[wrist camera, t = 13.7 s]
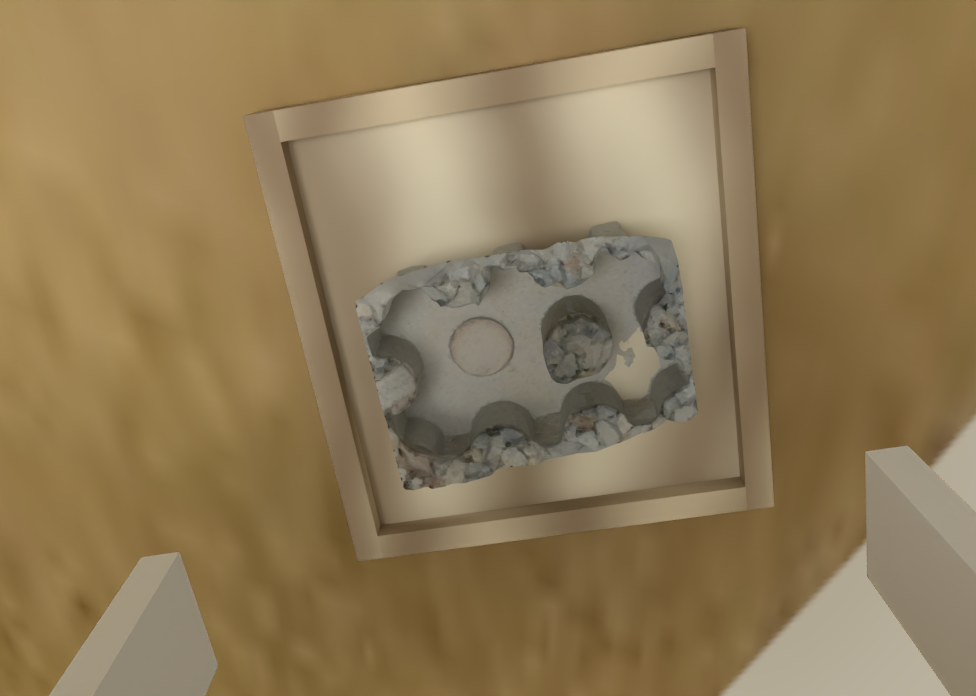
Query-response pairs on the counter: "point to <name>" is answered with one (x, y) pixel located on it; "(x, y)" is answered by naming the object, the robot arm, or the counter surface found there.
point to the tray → (536, 225)
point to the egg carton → (525, 354)
